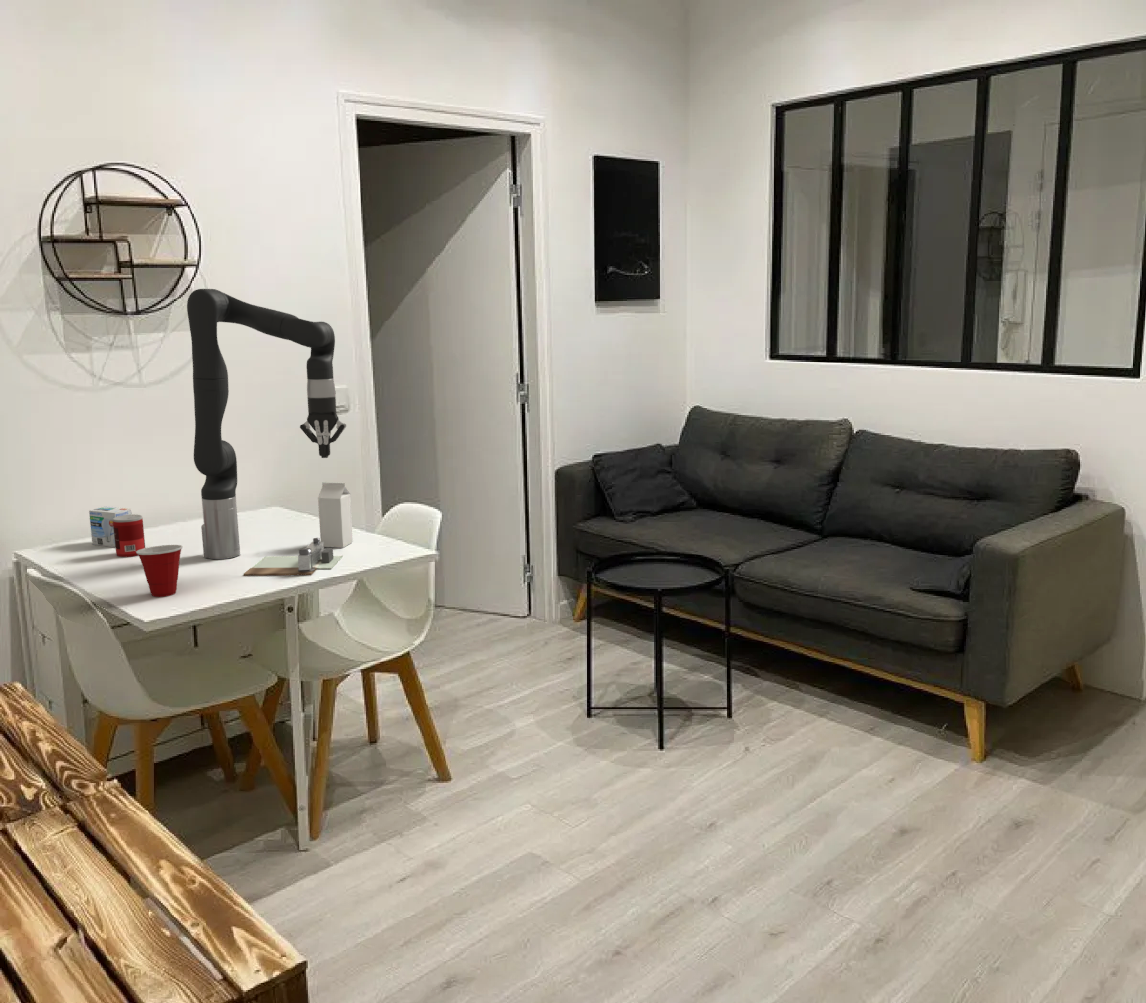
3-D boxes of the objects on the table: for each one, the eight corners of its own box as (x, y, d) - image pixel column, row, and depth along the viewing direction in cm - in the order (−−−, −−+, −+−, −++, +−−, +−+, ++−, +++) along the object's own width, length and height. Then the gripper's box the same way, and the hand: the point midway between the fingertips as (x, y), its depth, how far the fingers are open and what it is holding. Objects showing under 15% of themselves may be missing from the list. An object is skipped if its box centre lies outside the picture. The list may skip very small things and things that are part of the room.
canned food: (151, 552, 294) (148, 515, 291) (129, 558, 287) (125, 521, 284) (132, 549, 297) (129, 513, 295) (110, 555, 290) (106, 518, 288)
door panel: (250, 570, 273) (250, 568, 273) (265, 557, 286) (265, 556, 286) (331, 569, 273) (331, 567, 273) (342, 557, 286) (342, 555, 285)
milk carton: (343, 548, 296) (339, 485, 292) (320, 547, 298) (317, 484, 294) (353, 542, 303) (349, 480, 299) (331, 541, 304) (327, 480, 301)
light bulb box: (91, 545, 303) (87, 510, 301) (109, 540, 310) (105, 505, 307) (118, 547, 299) (114, 512, 297) (135, 542, 306) (132, 508, 303)
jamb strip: (243, 575, 267) (243, 572, 267) (250, 570, 273) (250, 566, 273) (311, 575, 267) (311, 572, 267) (317, 569, 273) (317, 566, 273)
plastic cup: (176, 585, 259) (172, 540, 257) (193, 593, 251) (189, 547, 249) (133, 593, 252) (128, 547, 249) (150, 602, 244) (145, 554, 242)
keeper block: (322, 564, 278) (321, 552, 277) (326, 560, 283) (325, 548, 282) (329, 564, 278) (328, 552, 277) (333, 560, 283) (332, 548, 282)
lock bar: (310, 570, 268) (309, 551, 267) (298, 570, 268) (297, 551, 267) (324, 555, 283) (323, 537, 282) (313, 555, 283) (312, 537, 282)
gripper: (293, 396, 272) (297, 459, 275) (342, 396, 272) (345, 459, 275) (301, 394, 279) (304, 455, 283) (348, 393, 279) (351, 455, 283)
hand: (325, 457), depth 279 cm, fingers closed
